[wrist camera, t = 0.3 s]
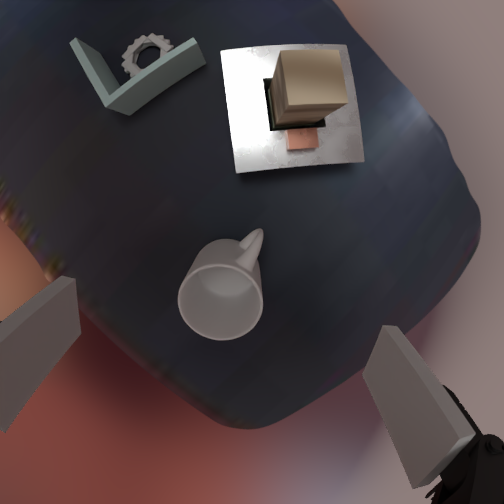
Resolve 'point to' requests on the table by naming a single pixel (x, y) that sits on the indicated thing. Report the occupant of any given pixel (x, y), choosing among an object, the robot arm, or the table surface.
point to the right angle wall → (138, 71)
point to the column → (305, 88)
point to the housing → (293, 140)
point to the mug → (224, 288)
